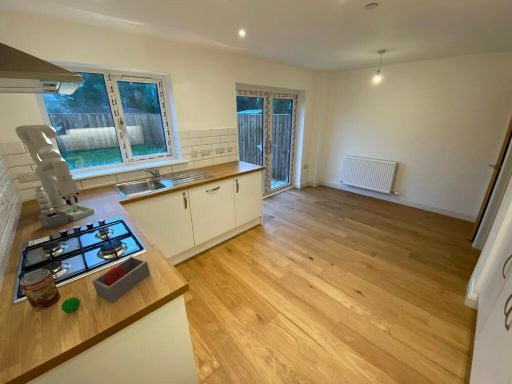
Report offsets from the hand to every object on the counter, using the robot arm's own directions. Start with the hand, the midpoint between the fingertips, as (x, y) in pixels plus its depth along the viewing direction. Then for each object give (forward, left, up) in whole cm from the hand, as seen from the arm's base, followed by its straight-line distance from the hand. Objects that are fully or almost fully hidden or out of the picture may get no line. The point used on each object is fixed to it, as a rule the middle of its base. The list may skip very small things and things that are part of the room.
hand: (72, 203), depth 149 cm
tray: (0, 0, -9) cm, 9 cm away
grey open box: (+94, -31, -9) cm, 99 cm away
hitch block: (+4, -14, -9) cm, 17 cm away
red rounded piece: (+93, -30, -9) cm, 98 cm away
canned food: (+75, -49, -9) cm, 90 cm away
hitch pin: (0, 0, -6) cm, 6 cm away
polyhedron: (+88, -47, -9) cm, 100 cm away
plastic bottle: (-18, -8, -9) cm, 22 cm away
